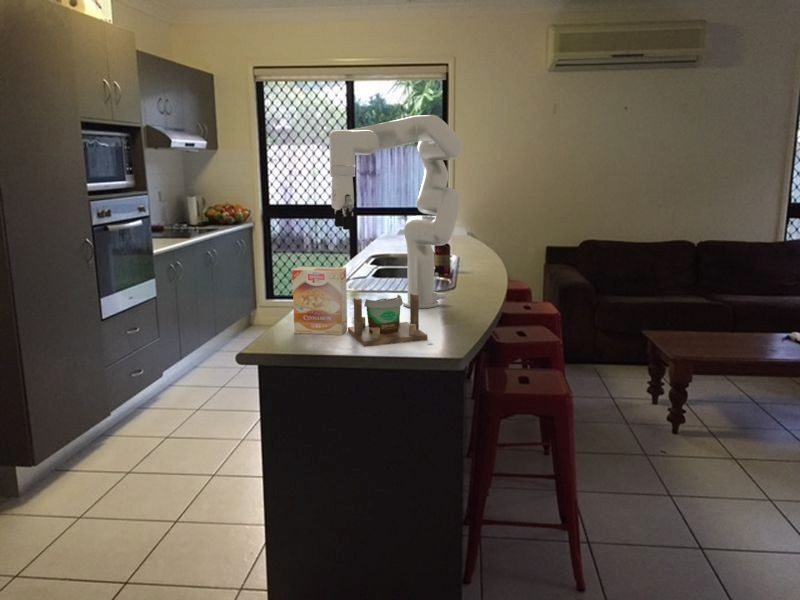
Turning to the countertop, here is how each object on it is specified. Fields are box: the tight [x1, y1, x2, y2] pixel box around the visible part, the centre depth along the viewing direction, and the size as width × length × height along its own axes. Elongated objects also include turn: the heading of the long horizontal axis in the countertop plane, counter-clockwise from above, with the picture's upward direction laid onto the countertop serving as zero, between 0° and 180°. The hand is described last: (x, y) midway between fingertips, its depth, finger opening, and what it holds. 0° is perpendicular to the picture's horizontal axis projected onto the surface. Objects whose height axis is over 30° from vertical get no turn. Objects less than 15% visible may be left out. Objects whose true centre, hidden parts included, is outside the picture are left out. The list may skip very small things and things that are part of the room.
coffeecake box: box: [291, 266, 348, 336], centre depth 199 cm, size 15×7×20 cm, turn 81°
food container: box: [364, 294, 404, 334], centre depth 194 cm, size 12×6×10 cm, turn 125°
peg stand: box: [347, 293, 428, 347], centre depth 195 cm, size 19×17×12 cm
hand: (343, 228), depth 206 cm, fingers open, 9 cm apart
